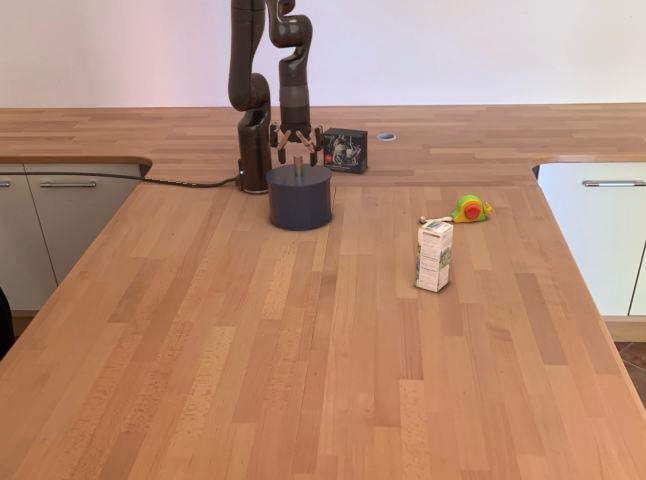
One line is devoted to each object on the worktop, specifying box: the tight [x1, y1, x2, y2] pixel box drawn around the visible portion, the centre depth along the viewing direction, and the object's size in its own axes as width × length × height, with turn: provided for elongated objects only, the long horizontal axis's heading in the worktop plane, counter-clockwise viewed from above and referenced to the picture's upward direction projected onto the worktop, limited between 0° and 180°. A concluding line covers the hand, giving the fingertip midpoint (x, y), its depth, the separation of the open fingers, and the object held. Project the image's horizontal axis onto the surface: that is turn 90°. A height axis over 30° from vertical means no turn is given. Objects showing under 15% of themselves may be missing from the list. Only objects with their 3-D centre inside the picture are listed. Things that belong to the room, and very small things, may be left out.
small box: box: [322, 127, 369, 175], centre depth 225 cm, size 13×7×12 cm, turn 68°
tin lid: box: [266, 153, 333, 188], centre depth 187 cm, size 18×18×6 cm
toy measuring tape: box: [419, 194, 493, 224], centre depth 189 cm, size 6×19×7 cm, turn 95°
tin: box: [267, 179, 332, 232], centre depth 192 cm, size 17×17×12 cm
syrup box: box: [414, 220, 454, 293], centre depth 157 cm, size 6×6×14 cm
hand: (298, 164), depth 187 cm, fingers open, 8 cm apart
